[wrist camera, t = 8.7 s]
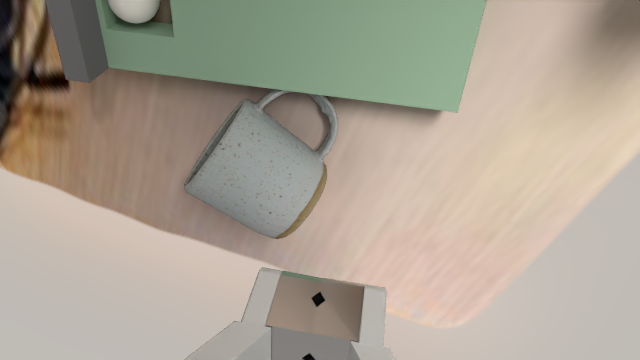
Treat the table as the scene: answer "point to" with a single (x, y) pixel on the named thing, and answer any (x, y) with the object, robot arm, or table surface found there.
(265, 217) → the ceramic mug
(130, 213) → the table surface
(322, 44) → the putting strip
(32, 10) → the table surface
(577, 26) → the table surface
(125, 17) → the ball
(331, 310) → the robot arm
